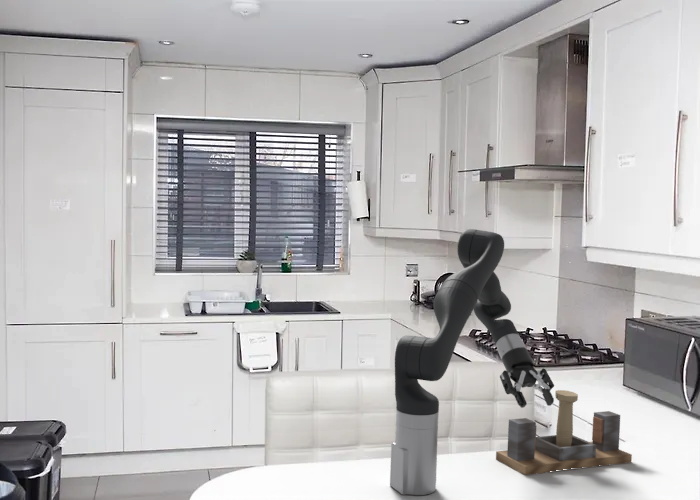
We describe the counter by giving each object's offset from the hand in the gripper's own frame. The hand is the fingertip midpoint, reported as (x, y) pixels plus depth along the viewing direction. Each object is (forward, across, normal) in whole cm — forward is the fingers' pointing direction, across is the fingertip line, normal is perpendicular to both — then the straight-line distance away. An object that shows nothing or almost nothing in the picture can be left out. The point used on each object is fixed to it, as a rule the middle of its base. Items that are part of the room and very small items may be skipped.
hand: (537, 405), depth 195 cm
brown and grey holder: (+16, 0, 0) cm, 16 cm away
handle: (+15, 0, -1) cm, 15 cm away
